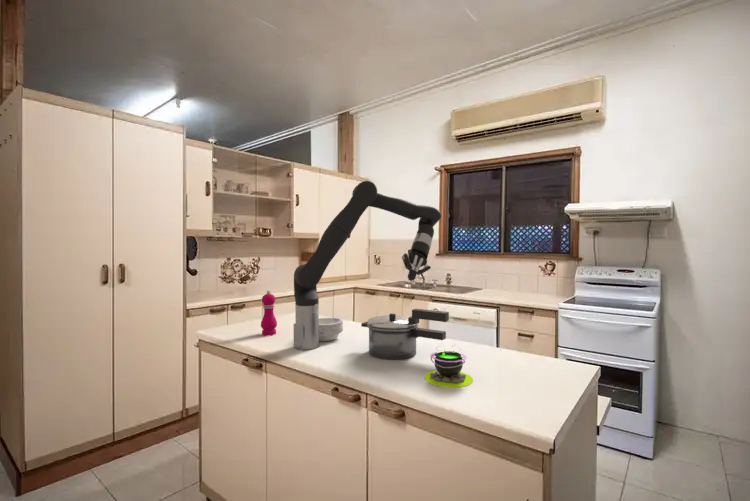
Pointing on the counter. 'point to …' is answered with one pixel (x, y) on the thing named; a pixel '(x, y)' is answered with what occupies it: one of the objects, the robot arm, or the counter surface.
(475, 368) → the counter surface
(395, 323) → the lid
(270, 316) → the pepper mill
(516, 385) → the counter surface
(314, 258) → the robot arm
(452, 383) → the toy cauldron
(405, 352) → the cooker pot
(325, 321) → the paper bowls
